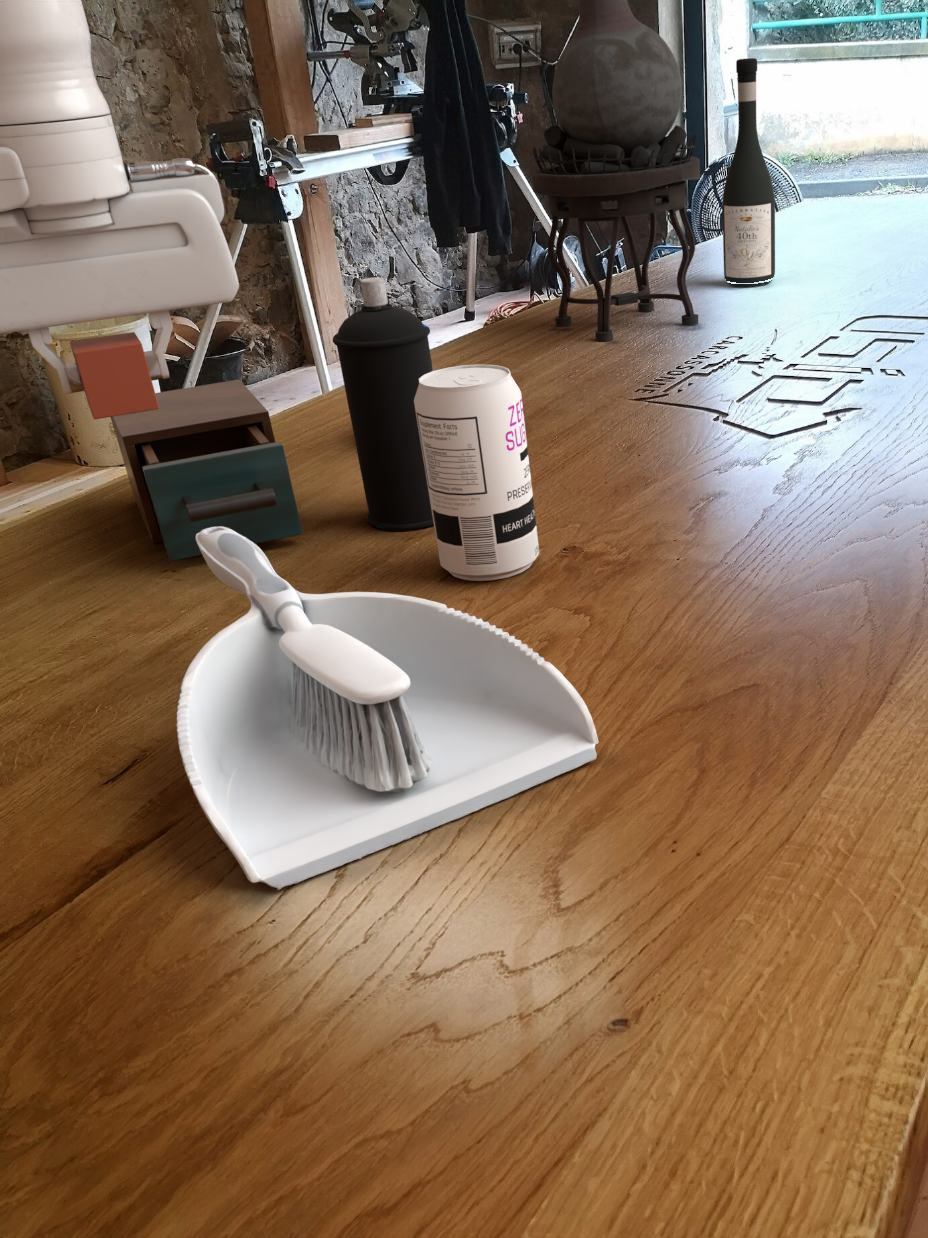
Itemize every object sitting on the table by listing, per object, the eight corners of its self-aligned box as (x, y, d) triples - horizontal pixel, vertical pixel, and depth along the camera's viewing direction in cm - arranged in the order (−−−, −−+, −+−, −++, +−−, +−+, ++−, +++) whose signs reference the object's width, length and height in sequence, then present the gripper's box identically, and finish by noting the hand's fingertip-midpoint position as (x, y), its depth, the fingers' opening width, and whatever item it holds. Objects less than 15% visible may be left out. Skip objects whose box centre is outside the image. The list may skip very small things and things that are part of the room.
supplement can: (431, 558, 105) (400, 372, 96) (524, 540, 107) (502, 357, 98) (453, 591, 98) (422, 395, 90) (552, 571, 100) (531, 378, 92)
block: (93, 419, 89) (73, 352, 87) (88, 405, 93) (69, 340, 90) (159, 409, 91) (141, 342, 88) (152, 395, 94) (134, 331, 92)
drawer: (315, 550, 106) (294, 457, 101) (177, 579, 102) (150, 485, 98) (272, 493, 119) (253, 410, 115) (150, 517, 116) (125, 432, 111)
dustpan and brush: (254, 904, 65) (207, 745, 59) (79, 692, 87) (33, 563, 82) (616, 754, 75) (604, 608, 70) (376, 600, 98) (352, 480, 93)
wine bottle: (772, 287, 193) (771, 58, 176) (721, 288, 194) (715, 61, 177) (776, 277, 199) (776, 55, 182) (727, 278, 201) (722, 59, 184)
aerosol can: (419, 536, 109) (377, 290, 98) (348, 524, 113) (300, 287, 102) (475, 506, 115) (441, 271, 104) (405, 496, 119) (366, 268, 108)
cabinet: (292, 516, 116) (268, 411, 111) (153, 544, 112) (121, 436, 107) (262, 476, 127) (239, 379, 122) (135, 500, 123) (105, 401, 118)
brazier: (723, 329, 170) (713, -82, 145) (562, 349, 166) (522, -69, 141) (682, 301, 188) (666, -68, 163) (536, 318, 185) (496, -57, 159)
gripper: (206, 151, 89) (251, 354, 97) (-108, 182, 82) (-32, 397, 90) (220, 157, 84) (266, 370, 92) (-112, 191, 78) (-31, 417, 85)
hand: (116, 384), depth 91 cm, fingers closed on block, 4 cm apart
